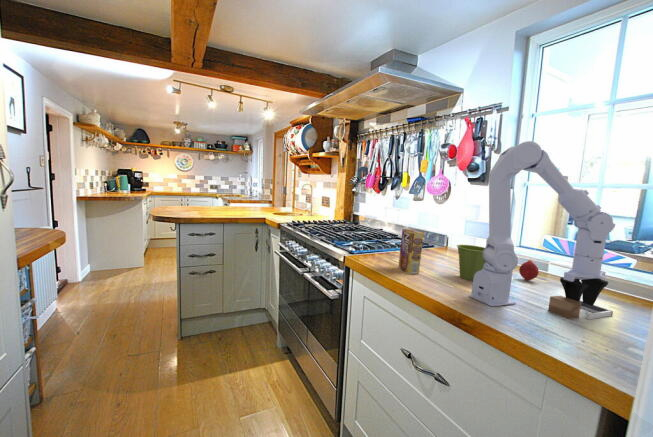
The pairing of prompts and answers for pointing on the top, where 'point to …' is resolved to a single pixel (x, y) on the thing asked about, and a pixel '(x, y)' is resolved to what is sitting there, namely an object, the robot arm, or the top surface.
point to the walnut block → (564, 307)
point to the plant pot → (470, 260)
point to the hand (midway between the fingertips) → (580, 305)
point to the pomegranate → (528, 270)
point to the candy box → (410, 251)
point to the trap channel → (595, 311)
